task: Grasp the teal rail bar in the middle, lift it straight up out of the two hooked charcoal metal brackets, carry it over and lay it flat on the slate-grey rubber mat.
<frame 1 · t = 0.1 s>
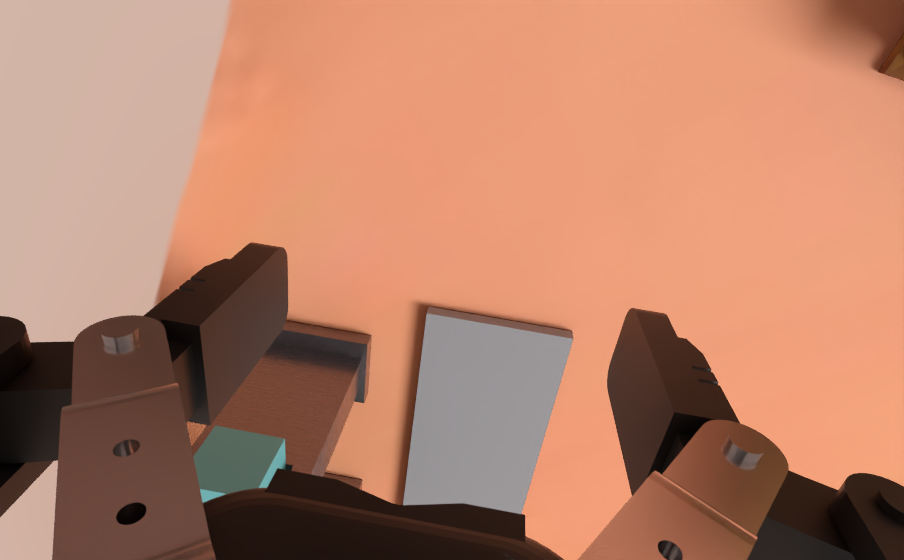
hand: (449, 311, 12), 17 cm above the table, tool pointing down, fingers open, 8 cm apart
bracket stand: (318, 430, 39), on the table
rubber mat: (473, 449, 38), on the table
rail bar: (260, 555, 31), point 10 cm above the table, touching bracket stand
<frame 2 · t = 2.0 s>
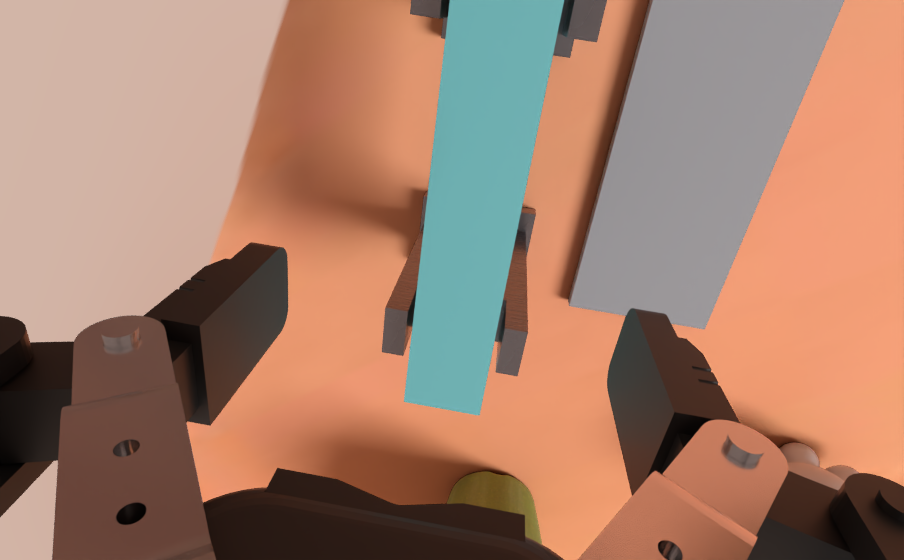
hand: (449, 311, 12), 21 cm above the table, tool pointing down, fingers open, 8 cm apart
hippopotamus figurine: (753, 452, 40), on the table
plant pot: (490, 497, 46), on the table
bracket stand: (492, 128, 31), on the table
rubber mat: (692, 142, 30), on the table
rail bar: (480, 175, 23), point 10 cm above the table, touching bracket stand
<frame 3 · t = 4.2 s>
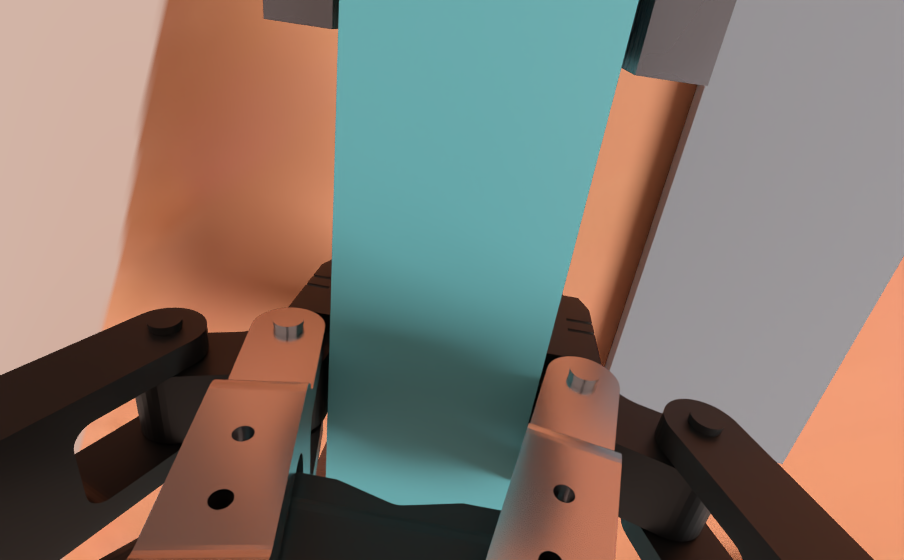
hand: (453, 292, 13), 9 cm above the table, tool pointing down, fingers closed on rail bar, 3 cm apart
bracket stand: (479, 187, 21), on the table
rubber mat: (780, 210, 20), on the table
rail bar: (449, 313, 12), point 10 cm above the table, touching bracket stand, gripper
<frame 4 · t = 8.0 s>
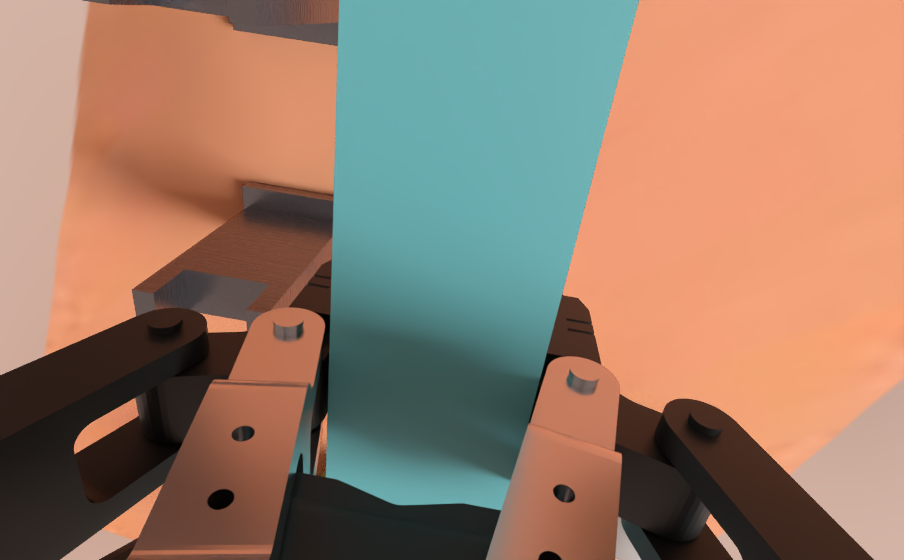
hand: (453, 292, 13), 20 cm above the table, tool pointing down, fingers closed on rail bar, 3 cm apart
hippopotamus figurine: (593, 439, 41), on the table
bracket stand: (301, 119, 32), on the table
rail bar: (449, 314, 12), point 21 cm above the table, touching gripper
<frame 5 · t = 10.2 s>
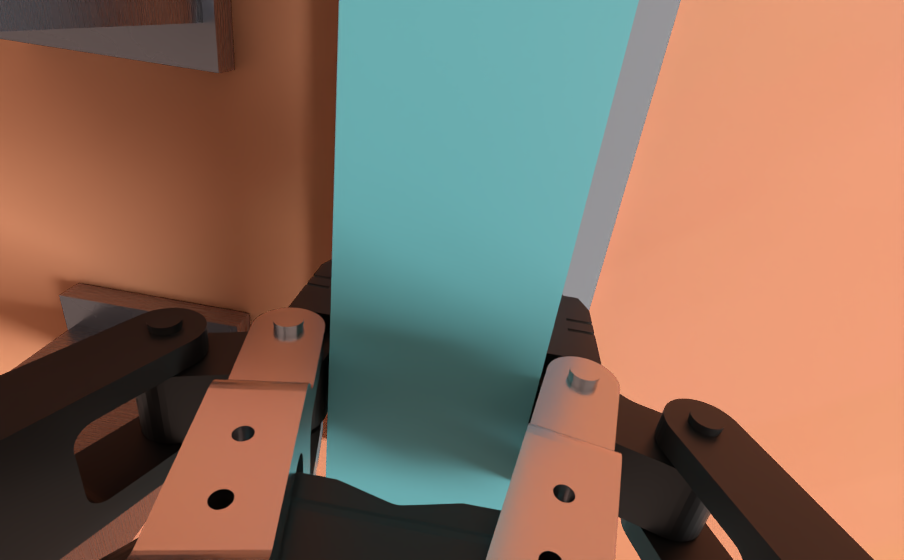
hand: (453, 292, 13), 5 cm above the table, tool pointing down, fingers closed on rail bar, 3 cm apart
bracket stand: (147, 189, 19), on the table
rubber mat: (471, 215, 18), on the table
rail bar: (449, 315, 12), point 6 cm above the table, touching gripper
when the fingers open (2 cm above the table, at t = 11.9 s): rail bar drops 2 cm, resting on rubber mat.
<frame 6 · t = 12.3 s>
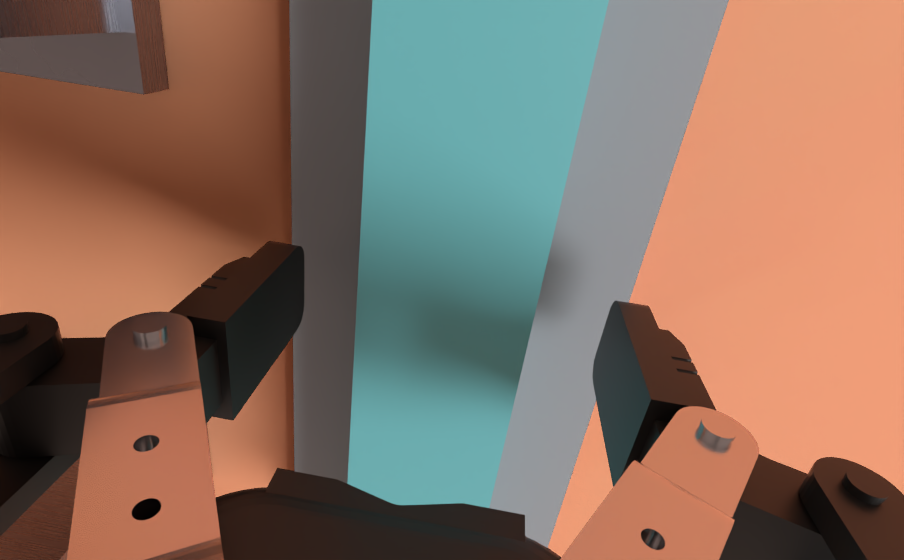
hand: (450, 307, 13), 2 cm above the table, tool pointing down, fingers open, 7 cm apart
bracket stand: (72, 229, 16), on the table
rubber mat: (460, 264, 15), on the table
rail bar: (456, 277, 14), point 1 cm above the table, touching rubber mat
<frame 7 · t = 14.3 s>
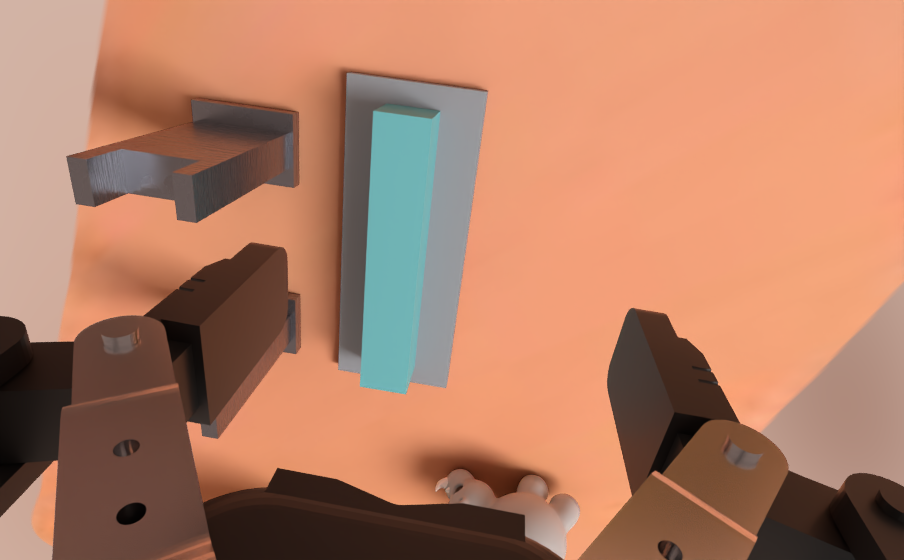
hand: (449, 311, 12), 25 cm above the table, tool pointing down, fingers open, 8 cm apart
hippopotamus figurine: (505, 483, 48), on the table
bracket stand: (254, 235, 40), on the table
rubber mat: (404, 246, 39), on the table
rail bar: (402, 250, 38), point 1 cm above the table, touching rubber mat
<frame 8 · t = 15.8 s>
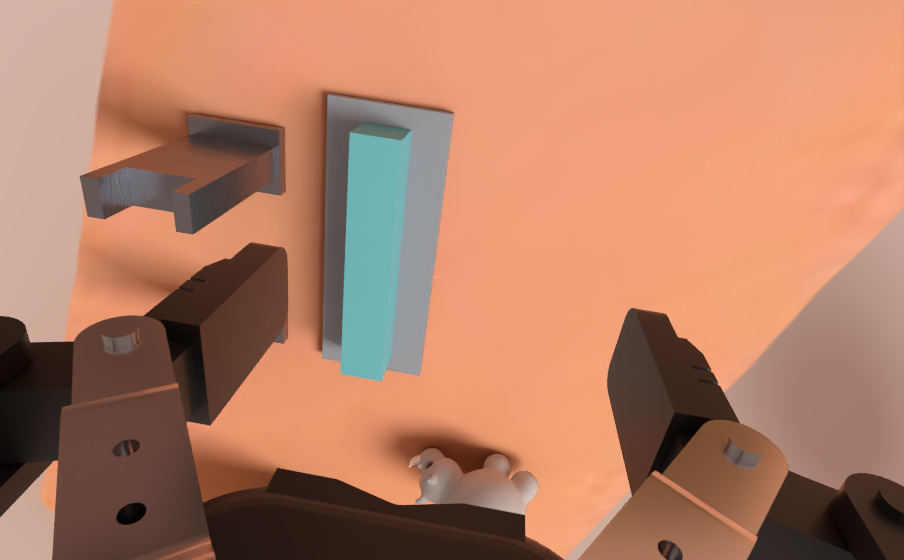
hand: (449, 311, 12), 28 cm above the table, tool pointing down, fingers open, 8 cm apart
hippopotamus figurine: (473, 461, 53), on the table
bracket stand: (245, 236, 44), on the table
rubber mat: (381, 248, 43), on the table
rail bar: (378, 252, 42), point 1 cm above the table, touching rubber mat
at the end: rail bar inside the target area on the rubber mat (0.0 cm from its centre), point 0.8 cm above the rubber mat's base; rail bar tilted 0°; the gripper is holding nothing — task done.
